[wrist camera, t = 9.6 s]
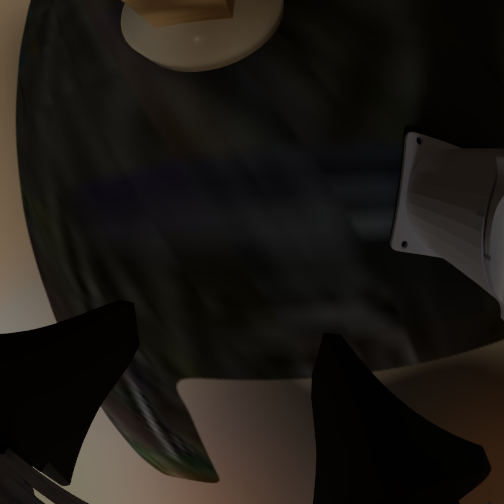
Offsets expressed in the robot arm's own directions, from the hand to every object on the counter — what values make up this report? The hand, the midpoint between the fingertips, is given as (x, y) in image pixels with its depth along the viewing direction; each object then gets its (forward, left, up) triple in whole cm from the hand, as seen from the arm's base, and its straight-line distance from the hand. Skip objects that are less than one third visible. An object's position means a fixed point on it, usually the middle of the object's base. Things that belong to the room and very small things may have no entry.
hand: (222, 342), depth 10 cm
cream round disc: (+5, -18, -10) cm, 21 cm away
